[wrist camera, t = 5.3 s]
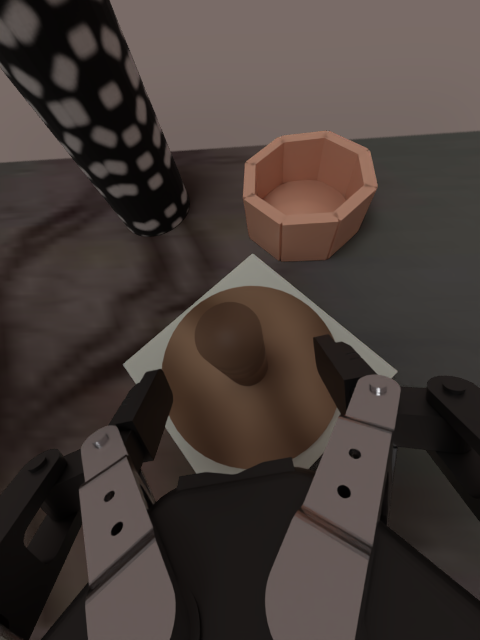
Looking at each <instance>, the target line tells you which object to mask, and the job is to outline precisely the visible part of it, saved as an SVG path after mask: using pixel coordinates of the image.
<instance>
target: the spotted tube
mask: <svg viewBox="0 0 480 640" xmlns="http://www.w3.org/2000/svg"><path fill="white" fill-rule="evenodd" d="M0 68H1V69H2V71H3V72H4V73H5V74H6V76H7V77H8V78H9V79H10V81H11V82H12V83H13V84H14V86H15V87H16V88H17V89H18V91H19V92H20V93H21V94H22V96H23V97H24V98H25V99H26V101H27V102H28V103H29V105H30V106H31V107H32V108H33V110H34V111H35V112H36V113H37V114H38V116H39V117H40V118H41V119H42V121H43V122H44V123H45V125H46V126H47V127H48V128H49V129H50V131H51V132H52V133H53V135H54V136H55V137H56V138H57V140H58V141H59V142H60V143H61V145H62V146H63V147H64V148H65V150H66V151H67V152H68V153H69V155H70V156H71V157H72V158H73V160H74V161H75V162H76V163H77V165H78V166H79V167H80V168H81V170H82V171H83V172H84V173H85V175H86V176H87V177H88V178H89V180H90V181H91V182H92V183H93V185H94V186H95V187H96V188H97V190H98V191H99V192H100V193H101V195H102V196H103V197H104V198H105V200H106V201H107V202H108V203H109V205H110V206H111V207H112V208H113V210H114V211H115V212H116V213H117V215H118V216H119V217H120V218H121V220H122V221H123V222H124V223H125V225H126V226H127V227H128V228H129V229H130V231H132V232H133V233H135V234H137V235H140V236H156V235H160V234H163V233H166V232H168V231H170V230H172V229H173V228H175V227H176V226H177V225H178V224H179V223H180V222H181V221H182V220H183V219H184V218H185V216H186V215H187V212H188V210H189V205H190V201H189V197H188V194H187V191H186V189H185V186H184V184H183V181H182V179H181V177H180V174H179V172H178V169H177V167H176V164H175V162H174V159H173V157H172V154H171V152H170V150H169V147H168V144H167V142H166V139H165V137H164V134H163V132H162V129H161V127H160V124H159V122H158V119H157V117H156V115H155V112H154V110H153V107H152V105H151V102H150V100H149V97H148V95H147V92H146V90H145V87H144V85H143V82H142V80H141V78H140V75H139V72H138V70H137V67H136V65H135V62H134V60H133V58H132V55H131V53H130V50H129V48H128V45H127V43H126V40H125V38H124V35H123V33H122V30H121V28H120V25H119V23H118V20H117V18H116V15H115V13H114V10H113V8H112V5H111V3H110V0H0Z"/></svg>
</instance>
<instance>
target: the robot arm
mask: <svg viewBox="0 0 480 640" xmlns="http://www.w3.org/2000/svg"><path fill="white" fill-rule="evenodd" d="M313 344H314V352H315V361H316V367H317V370H318V373H319V375H320V377H321V379H322V381H323V383H324V384H325V386H326V388H327V390H328V392H329V394H330V395H331V397H332V399H333V401H334V403H335V405H336V406H337V408H338V410H339V412H340V414H341V415H339V417H338V419H337V421H336V423H335V426H334V428H333V431H332V433H331V436H330V438H329V441H328V443H327V446H326V448H325V451H324V453H323V456H322V458H321V461H320V463H319V466H318V468H317V471H316V472H315V471H312V470H309V469H306V468H301V467H294V464H293V460H292V457H288V458H283V459H277V460H271V461H266V462H262V463H260V464H258V465H255V466H253V467H251V468H249V469H246V470H244V471H242V472H240V473H237V474H223V473H213V472H203V473H197V474H192V475H186V476H180V477H179V481H178V486H177V488H175V489H174V490H172V491H170V492H168V493H167V494H166V495H164V496H163V497H161V498H160V499H159V500H158V501H157V502H156V501H155V499H154V497H153V494H152V492H151V490H150V487H149V485H148V483H147V480H146V478H145V476H144V473H143V471H142V470H141V466H142V463H143V462H148V461H153V460H154V458H155V455H156V452H157V449H158V446H159V443H160V440H161V437H162V434H163V431H164V428H165V425H166V422H167V419H168V416H169V413H170V410H171V407H172V404H173V393H172V390H171V388H170V386H169V383H168V381H167V379H166V376H165V374H164V372H163V370H162V369H157V370H152V371H147V372H146V373H145V374H144V376H143V378H142V379H141V381H140V383H137V384H136V385H135V386H134V387H133V388H132V389H131V390H130V391H129V393H128V394H127V396H126V398H125V399H124V401H123V402H122V406H120V407H119V409H118V411H117V412H116V414H115V415H114V417H113V419H112V420H111V422H110V424H109V425H108V426H106V427H103V428H101V429H99V430H97V431H96V432H94V433H93V434H91V435H90V436H89V437H88V438H87V439H86V440H85V442H84V443H83V445H82V447H81V449H80V450H77V451H75V452H73V453H70V454H68V455H66V456H64V457H63V455H62V454H61V453H60V451H59V450H58V449H50V450H47V451H45V452H43V453H41V454H39V455H37V456H36V457H34V458H33V459H32V460H30V461H29V462H28V463H27V464H26V465H25V466H24V467H23V468H22V469H21V470H20V472H19V473H18V474H17V475H16V477H15V478H14V479H13V480H12V481H11V483H10V484H9V485H8V486H7V488H6V489H5V490H4V491H3V493H2V494H1V495H0V640H29V638H30V636H31V634H32V632H33V630H34V627H35V625H36V623H37V621H38V619H39V616H40V614H41V612H42V610H43V608H44V606H45V603H46V601H47V599H48V597H49V595H50V593H51V590H52V588H53V586H54V584H55V582H56V579H57V577H58V575H59V573H60V571H61V569H62V566H63V564H64V562H65V560H66V558H67V555H68V553H69V551H70V549H71V547H72V545H73V542H74V540H75V538H76V536H77V534H78V532H79V529H80V527H81V525H82V524H83V533H84V542H85V551H86V560H87V569H88V578H89V582H88V583H87V584H86V586H85V587H84V588H83V589H82V590H81V592H80V593H79V594H78V595H77V597H76V598H75V599H74V600H73V601H72V603H71V604H70V605H69V606H68V607H67V609H66V610H65V611H64V612H63V613H62V615H61V616H60V617H59V618H58V619H57V621H56V622H55V623H54V624H53V626H52V627H51V628H50V629H49V630H48V632H47V633H46V634H45V635H44V636H43V638H42V639H41V640H480V601H479V600H478V599H476V598H475V597H474V596H473V595H472V594H470V593H469V592H468V591H467V590H465V589H464V588H463V587H462V586H460V585H459V584H458V583H457V582H456V581H454V580H453V579H452V578H451V577H449V576H448V575H447V574H446V573H444V572H443V571H442V570H441V569H439V568H438V567H437V566H436V565H435V564H433V563H432V562H431V561H430V560H428V559H427V558H426V557H425V556H423V555H422V554H421V553H420V552H418V551H417V550H416V549H415V548H414V547H412V546H411V545H410V544H409V543H407V542H406V541H405V540H404V539H402V538H401V537H400V536H399V535H397V534H396V533H395V532H394V531H393V530H391V529H390V528H389V527H388V524H389V516H390V507H391V495H392V486H393V479H394V472H395V465H396V458H397V451H398V447H406V448H414V449H423V450H426V451H427V452H428V454H429V455H430V456H431V458H432V459H433V460H434V462H435V463H436V464H437V466H438V467H439V468H440V470H441V471H442V472H443V474H444V475H445V476H446V478H447V479H448V480H449V482H450V483H451V484H452V486H453V487H454V488H455V490H456V491H457V492H458V494H459V495H460V496H461V498H462V499H463V500H464V502H465V503H466V504H467V506H468V507H469V508H470V510H471V511H472V512H473V513H474V515H475V516H476V517H477V519H478V520H479V521H480V388H479V387H477V386H476V385H475V384H473V383H471V382H469V381H467V380H464V379H461V378H458V377H453V376H437V377H433V378H431V379H430V380H429V381H428V382H427V388H412V387H401V386H399V384H398V383H397V382H396V381H394V380H393V379H391V378H389V377H386V376H382V375H378V374H377V373H376V372H375V371H374V370H373V369H372V368H371V367H370V366H369V365H368V364H367V363H366V361H365V360H364V359H363V358H361V356H360V355H359V354H358V353H357V352H356V351H355V350H354V349H353V347H352V346H350V345H348V344H346V343H344V342H342V341H341V342H335V341H334V340H333V339H332V337H331V336H330V335H329V334H326V335H322V336H317V337H313ZM40 507H41V508H42V510H43V511H44V512H45V513H46V514H47V515H46V517H45V519H44V520H43V522H42V524H41V525H40V527H39V529H38V530H37V532H36V534H35V535H34V537H33V539H32V540H31V542H30V544H29V546H28V547H27V548H26V547H25V545H24V541H23V539H24V534H25V531H26V529H27V527H28V525H29V524H30V522H31V521H32V519H33V517H34V516H35V514H36V513H37V511H38V510H39V508H40Z"/></svg>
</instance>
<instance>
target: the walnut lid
mask: <svg viewBox="0 0 480 640" xmlns="http://www.w3.org/2000/svg"><path fill="white" fill-rule="evenodd" d="M326 334H329V335H330V336H331V337H332V339H333V340H334V338H333V336H332V334H331V332H330V330H329V329H328V327H327V326H326V324H325V323H324V321H323V320H322V319H321V318H320V317H319V315H318V314H317V313H316V312H315V311H314V310H313V309H312V308H311V307H309V306H308V305H307V304H305V303H304V302H303V301H301V300H300V299H298V298H296V297H294V296H293V295H291V294H288V293H286V292H284V291H281V290H278V289H274V288H270V287H263V286H241V287H235V288H230V289H227V290H224V291H221V292H218V293H216V294H214V295H212V296H210V297H208V298H206V299H205V300H203V301H202V302H200V303H199V304H198V305H196V306H195V307H194V308H193V309H192V310H191V311H189V312H188V313H187V314H186V315H185V317H184V318H183V319H182V320H181V322H180V323H179V324H178V326H177V327H176V329H175V330H174V332H173V334H172V336H171V338H170V340H169V342H168V345H167V348H166V350H165V354H164V358H163V362H162V370H163V372H164V374H165V376H166V379H167V381H168V383H169V386H170V388H171V390H172V393H173V404H172V407H171V410H170V413H169V416H170V419H171V421H172V422H173V424H174V426H175V428H176V429H177V431H178V432H179V433H180V435H181V436H182V437H183V438H184V440H185V441H186V442H187V443H188V444H189V445H191V446H192V447H193V448H194V449H195V450H196V451H198V452H199V453H201V454H202V455H203V456H205V457H207V458H209V459H211V460H213V461H215V462H217V463H220V464H223V465H226V466H229V467H234V468H240V469H249V468H251V467H253V466H255V465H258V464H260V463H262V462H266V461H271V460H277V459H283V458H288V457H292V459H293V458H295V457H297V456H298V455H300V454H301V453H303V452H304V451H306V450H307V449H308V448H309V447H310V446H311V445H313V444H314V443H315V442H316V441H317V440H318V439H319V437H320V436H321V435H322V434H323V432H324V431H325V430H326V428H327V426H328V425H329V423H330V421H331V420H332V418H333V415H334V413H335V410H336V408H337V406H336V405H335V403H334V401H333V399H332V397H331V395H330V394H329V392H328V390H327V388H326V386H325V384H324V383H323V381H322V379H321V377H320V375H319V373H318V370H317V367H316V361H315V352H314V344H313V337H317V336H322V335H326ZM334 341H335V340H334Z"/></svg>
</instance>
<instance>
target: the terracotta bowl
mask: <svg viewBox="0 0 480 640" xmlns="http://www.w3.org/2000/svg"><path fill="white" fill-rule="evenodd" d="M377 187H378V185H377V181H376V176H375V171H374V167H373V162H372V158H371V153H370V151H368V149H367V148H365V147H363V146H361V145H359V144H357V143H354V142H352V141H350V140H348V139H346V138H344V137H341V136H339V135H337V134H335V133H332V132H331V131H329V132H327V131H319V132H310V133H302V134H293V135H285V136H281V138H280V137H278V138H276V139H275V140H274V141H272V142H271V143H270V144H269V145H267V146H266V147H265V148H263V149H262V150H261V151H259V152H258V153H257V154H256V155H254V156H253V157H252V158H250V159H249V160H248V161H246V163H245V174H244V190H243V200H244V207H245V213H246V220H247V227H248V233H249V237H250V239H251V240H253V241H254V242H255V243H257V244H258V245H259V246H260V247H262V248H263V249H264V250H265V251H267V252H268V253H269V254H271V255H272V256H273V257H274V258H276V259H277V260H278V261H280V260H281V262H286V261H311V260H326V258H328V259H329V258H330V257H331V256H332V255H333V254H334V253H335V252H336V251H337V250H339V249H340V248H341V247H342V246H343V245H344V244H345V243H346V242H347V241H348V240H349V239H351V238H352V237H353V236H354V235H355V234H356V233H357V232H358V230H359V228H360V225H361V223H362V221H363V219H364V216H365V214H366V212H367V210H368V207H369V205H370V203H371V201H372V199H373V196H374V194H375V192H376V190H377Z"/></svg>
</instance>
